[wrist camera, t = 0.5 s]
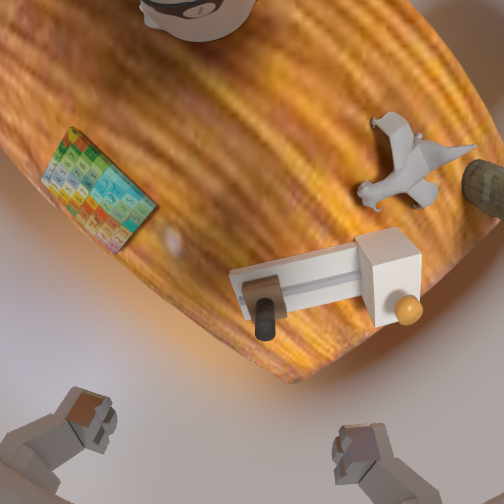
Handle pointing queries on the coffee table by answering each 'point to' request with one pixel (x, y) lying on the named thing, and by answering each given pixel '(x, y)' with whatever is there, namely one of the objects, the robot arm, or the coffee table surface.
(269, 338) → the carriage
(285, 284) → the rail base
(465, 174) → the thermos
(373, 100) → the coffee table surface
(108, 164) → the puzzle game
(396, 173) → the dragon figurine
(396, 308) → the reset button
